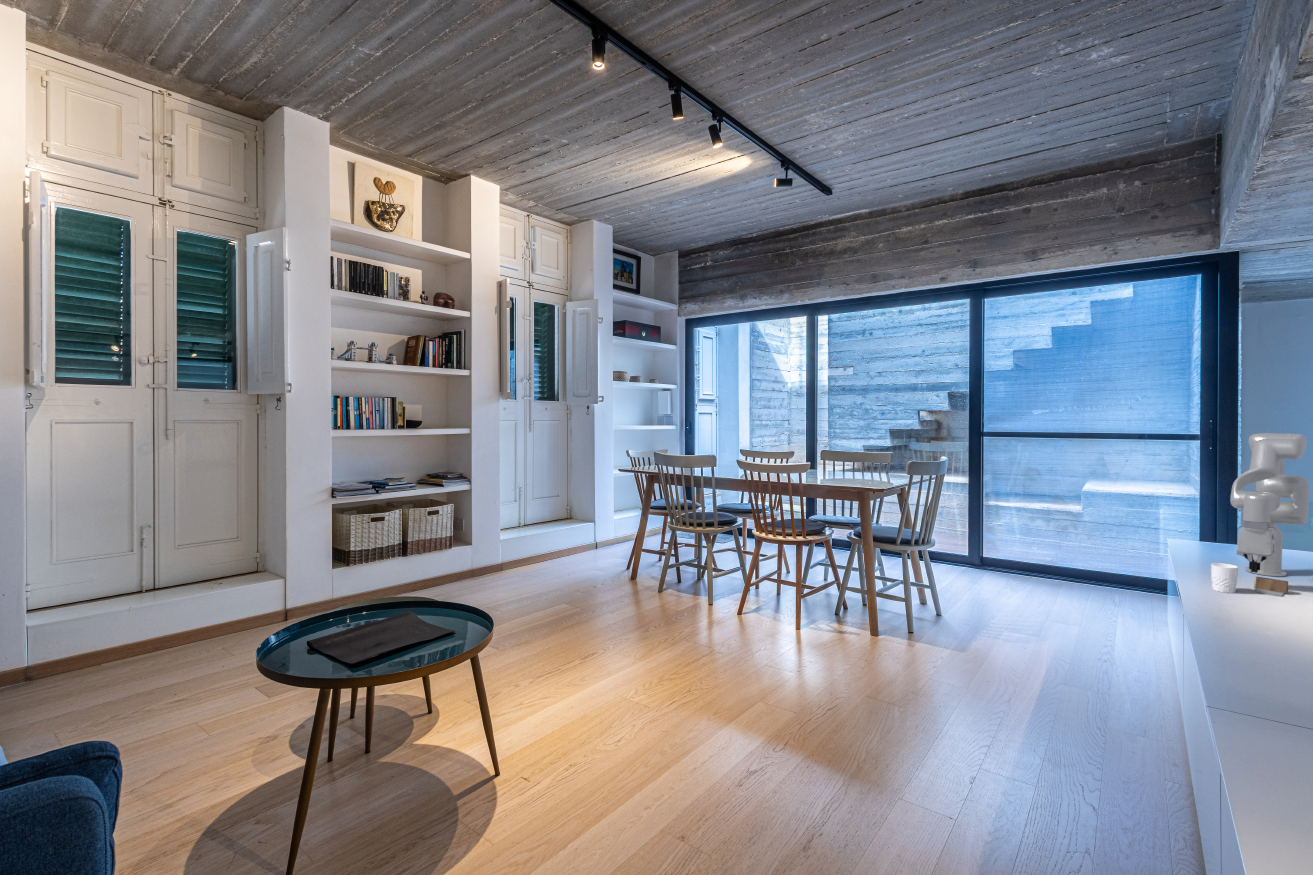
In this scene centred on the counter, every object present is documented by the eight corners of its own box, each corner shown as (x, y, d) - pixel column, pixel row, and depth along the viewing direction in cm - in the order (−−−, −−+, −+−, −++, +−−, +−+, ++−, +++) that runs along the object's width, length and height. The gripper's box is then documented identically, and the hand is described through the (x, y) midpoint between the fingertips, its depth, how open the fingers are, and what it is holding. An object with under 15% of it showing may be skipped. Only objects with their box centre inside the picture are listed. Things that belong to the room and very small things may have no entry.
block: (1256, 576, 245) (1288, 581, 238) (1255, 586, 245) (1287, 591, 238) (1254, 578, 243) (1286, 582, 236) (1253, 588, 243) (1286, 593, 236)
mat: (1260, 585, 248) (1260, 584, 248) (1286, 589, 242) (1286, 588, 242) (1254, 592, 239) (1254, 591, 239) (1281, 596, 233) (1281, 595, 233)
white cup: (1226, 587, 245) (1227, 562, 245) (1243, 593, 237) (1244, 568, 237) (1204, 587, 246) (1205, 562, 245) (1220, 593, 238) (1221, 567, 237)
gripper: (1284, 527, 240) (1282, 573, 240) (1232, 521, 251) (1230, 566, 252) (1281, 529, 235) (1279, 577, 236) (1228, 524, 247) (1227, 569, 247)
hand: (1254, 571), depth 244 cm, fingers closed
